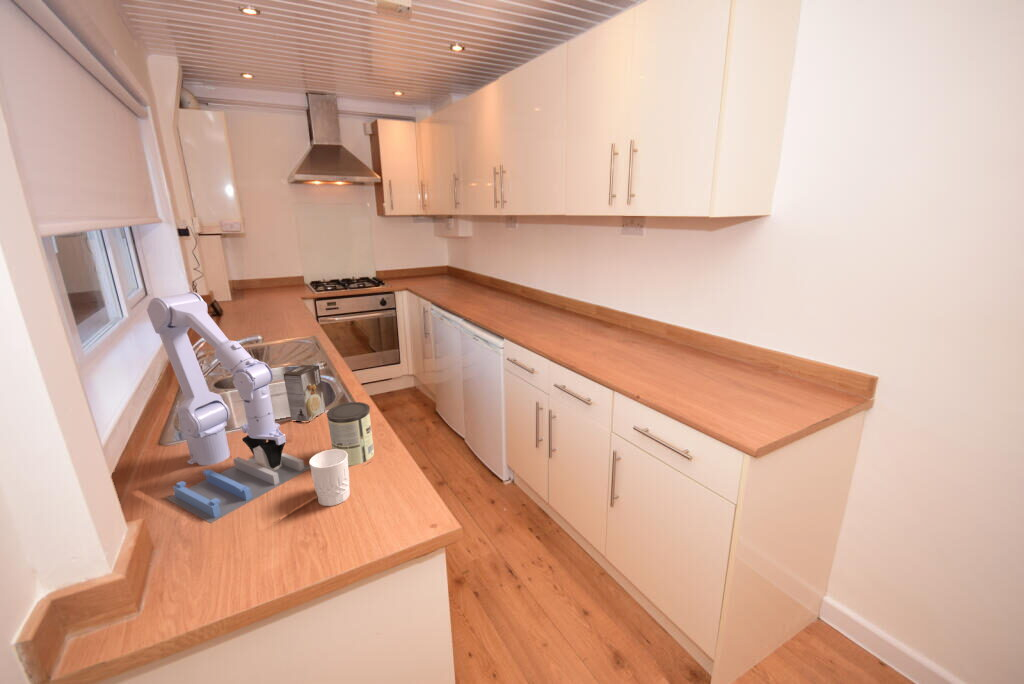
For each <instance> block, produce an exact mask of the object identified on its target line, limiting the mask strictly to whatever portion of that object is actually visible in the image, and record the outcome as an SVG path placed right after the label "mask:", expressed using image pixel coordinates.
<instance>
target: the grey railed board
mask: <svg viewBox="0 0 1024 684" xmlns="http://www.w3.org/2000/svg"><path fill="white" fill-rule="evenodd" d="M233 464H234V466H232V467H230V468H228V469H225V470H224V471H222V472H220V473H218V472H216V471H214V470H211V469H207V468H206V469H205V470H203V471H202V475H204V476H205V478H206V479H204V480H202V481H200V482H198V483H195V484H194V485H192V486H190V487H186V486H187V482H186V481H183V480H181V481H179V482H177V483H175V485H173V486H172V489H173V493H174V494H173V495H170V496H169V497H166V500H168V501H170V502H172V503H174V505H177V506H178V507H180V508H183V509H184V510H186V511H188V512H189V513H192V514H193V515H195V516H197V517H198V518H200V519H202V520H204V521H206V522H207V523H209V524H212V523H214V522H217V521H218V520H219V519H221V518H223V517H226V516H227V515H229V514H231V513H232V512H234V511H236V510H237V509H239V508H242V507H243V506H245V505H246V504H249V503H250V502H252V501H254V500H255V499H258V498H260V497H261V496H263V495H265V494H266V493H268V492H271V491H272V490H274V489H276V488H277V487H279V486H281V485H282V484H284V483H286V482H288V481H290V480H292V479H294V478H295V477H297V476H299V475H301V474H303V473H305V472H306V471H308V470H311V469H310V465H307V464H305V463H304V459H302V458H299V457H296V456H293V455H291V454H287V453H285V452H283V451H282V455H281V464H282V467H280V468H278V469H277V470H275V471H271V470H269V469H266V468H264V467H262V466H259V465H257V464H256V462H255V457H254V456H253V457H252V458H249V459H244V458H241V457H239V456H238V457H234V458H233Z"/></svg>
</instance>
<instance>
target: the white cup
mask: <svg viewBox="0 0 1024 684" xmlns="http://www.w3.org/2000/svg"><path fill="white" fill-rule="evenodd" d="M308 464H309V467H310V469H309V470H310V472H311V478H312V483H313V487H314V491H315V493H316V497H317V501H318V504H320V505H321V506H324V507H332V506H337V505H340V504H341V503H344V502H345V501H346V500H348V499H349V497H350V494H351V491H350V471H349V467H350V466H348V454H347V452H345V451H344V450H339V449H327V450H323V451H321V452H318V453H316V454H315V455H312V457H311V458H310V459H309V462H308Z"/></svg>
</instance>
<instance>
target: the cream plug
mask: <svg viewBox="0 0 1024 684" xmlns="http://www.w3.org/2000/svg"><path fill="white" fill-rule="evenodd" d="M253 451H254V455H253V457H255V462H256V464H257V465H259V466H262V467H264V468H266V469H269V470H271V471H275V470H277V469H278V468H280V467H282V464H281V463H280V465H279V466H277V467H275V468H271V467H270V465H269V462H268V459H267V456H266V454H265V452H264V451H263V449H262V448H261V447H260V446H258V447H255V448H253Z"/></svg>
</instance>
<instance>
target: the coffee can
mask: <svg viewBox="0 0 1024 684" xmlns="http://www.w3.org/2000/svg"><path fill="white" fill-rule="evenodd" d="M370 410H371V408H370V405H369V404H367V403H366V402H359V401H351V402H344V403H339V404H337V405H335V406H333V407H331V408H330V409H328V410H327V412H326V418H327V422H328V429H329V435H330V437H329V438H330V441H331V448H332V449H339V450H344V451H345V452H347V454H348V467H351V466H358V465H361V464H364V463H366V462H368V461H369V462H368V463H366V464H364V465H363V467H365V466H366V465H369V464H370V463H371V461H370V460H371V459H372V458H373V457H374V455H375V449H374V447H375V446H374V440H373V433H372V432H373V431H372V422H371V415H370V413H371V412H370ZM332 449H331V450H332Z"/></svg>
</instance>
